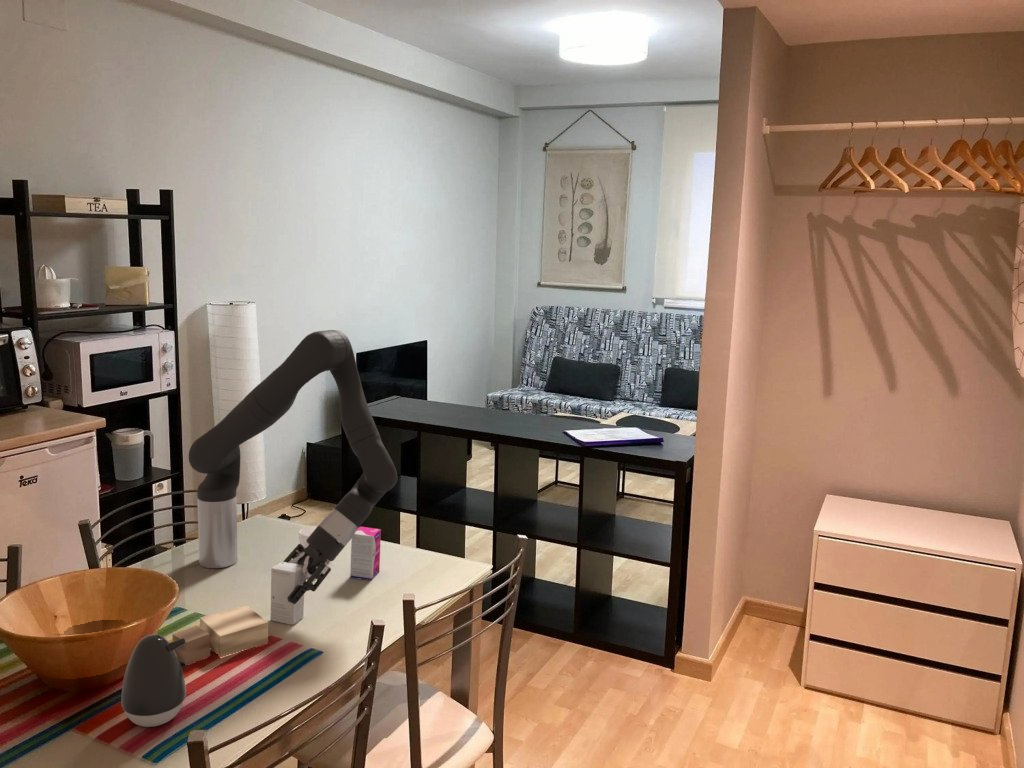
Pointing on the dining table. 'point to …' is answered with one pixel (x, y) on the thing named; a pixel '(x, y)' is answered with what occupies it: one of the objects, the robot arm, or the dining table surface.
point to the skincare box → (285, 593)
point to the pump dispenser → (153, 682)
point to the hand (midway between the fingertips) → (283, 594)
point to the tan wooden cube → (192, 644)
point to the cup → (305, 535)
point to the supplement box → (365, 553)
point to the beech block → (235, 630)
